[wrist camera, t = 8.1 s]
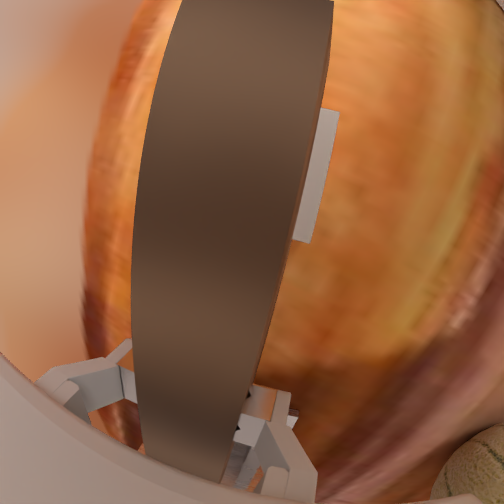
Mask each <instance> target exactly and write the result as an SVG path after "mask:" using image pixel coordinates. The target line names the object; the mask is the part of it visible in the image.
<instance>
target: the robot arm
mask: <svg viewBox="0 0 504 504" xmlns="http://www.w3.org/2000/svg"><path fill="white" fill-rule="evenodd" d="M496 1H497V2H498V4H499V5H500V6H501V7H502V9H503V10H504V0H496ZM124 398H126V399H128V400H130V401H132V402H135V403H137V396H136V387H135V376H134V365H133V350H132V339H131V338H127V339H125V340H124V341H123V342H122V343H121V344H120V345H119V346H118V347H117V348H116V349H114V350H113V351H112V352H111V353H110V354H109V355H108V356H107V357H106V358H103V357H100V358H96V359H91V360H86V361H81V362H76V363H72V364H66V365H61V366H56V367H52V368H51V369H50V370H49V371H48V372H46V373H45V374H44V375H43V376H42V377H40V378H39V379H38V380H37V381H36V382H34V383H33V382H32V381H31V380H30V379H28V378H27V377H26V376H25V375H24V374H23V373H22V372H20V371H19V370H18V369H17V368H16V367H15V366H14V365H13V364H12V363H11V362H10V361H9V360H8V359H7V358H6V357H5V356H4V355H3V354H2V353H1V352H0V504H322V503H314V502H315V494H316V485H317V476H318V473H317V471H316V469H315V468H314V466H313V465H312V463H311V461H310V460H309V458H308V456H307V455H306V453H305V451H304V450H303V448H302V446H301V444H300V443H299V441H298V439H297V438H296V436H295V434H294V432H293V431H292V429H291V427H290V426H287V425H286V423H287V417H288V411H289V406H290V400H291V393H290V392H286V391H281V390H277V389H273V388H269V387H265V386H261V385H257V384H254V383H251V386H250V388H249V391H248V395H247V398H246V400H245V403H244V405H243V408H242V411H241V414H240V417H239V420H238V424H237V428H236V430H235V434H234V437H233V440H232V441H235V442H239V443H242V444H245V445H249V446H252V447H254V449H255V452H256V454H257V457H258V460H259V463H260V465H261V468H262V471H263V473H264V475H263V476H262V478H261V480H260V481H259V483H258V484H257V486H256V487H255V489H254V490H253V492H248V491H244V490H240V489H236V488H233V487H229V486H226V485H222V484H219V483H216V482H212V481H209V480H206V479H203V478H200V477H197V476H195V475H192V474H189V473H186V472H184V471H181V470H179V469H176V468H174V467H171V466H169V465H167V464H164V463H162V462H160V461H157V460H155V459H153V458H151V457H149V456H146V455H144V454H142V453H140V452H138V451H136V450H134V449H132V448H130V447H128V446H126V445H125V444H123V443H121V442H119V441H117V440H115V439H114V438H112V437H110V436H108V435H107V434H105V433H103V432H101V431H100V430H98V429H97V428H95V427H93V426H92V425H91V421H90V418H89V416H88V412H91V411H94V410H96V409H99V408H102V407H104V406H107V405H109V404H112V403H114V402H116V401H119V400H121V399H124ZM403 504H483V503H482V502H481V501H480V500H479V499H478V498H477V497H476V496H474V495H473V494H470V493H466V494H460V495H456V496H451V497H446V498H441V499H435V500H428V501H421V502H413V503H403Z"/></svg>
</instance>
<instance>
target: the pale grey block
mask: <svg viewBox="0 0 504 504" xmlns="http://www.w3.org/2000/svg"><path fill="white" fill-rule="evenodd" d="M339 114H340V112H338V111H334V110H329V109H325V108H321V109H320V114H319V119H318V124H317V129H316V134H315V139H314V144H313V149H312V153H311V158H310V163H309V167H308V172H307V177H306V181H305V186H304V190H303V194H302V199H301V203H300V207H299V212H298V216H297V220H296V224H295V229H294V233H293V237H292V239H293V240H297V241H301V242H305V243H309V244H310V242H311V238H312V234H313V230H314V226H315V222H316V218H317V214H318V210H319V206H320V202H321V198H322V193H323V189H324V185H325V181H326V176H327V172H328V167H329V163H330V158H331V153H332V149H333V144H334V139H335V134H336V129H337V124H338V119H339Z"/></svg>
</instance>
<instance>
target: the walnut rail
mask: <svg viewBox="0 0 504 504" xmlns="http://www.w3.org/2000/svg"><path fill="white" fill-rule="evenodd" d="M333 8H334V1H330V0H182V2H181V5H180V8H179V11H178V13H177V16H176V19H175V22H174V25H173V28H172V31H171V34H170V37H169V40H168V43H167V47H166V50H165V53H164V57H163V60H162V64H161V67H160V71H159V75H158V79H157V83H156V87H155V91H154V95H153V100H152V104H151V109H150V114H149V118H148V123H147V129H146V134H145V140H144V145H143V152H142V158H141V165H140V172H139V179H138V187H137V196H136V205H135V216H134V228H133V243H132V265H131V329H132V350H133V365H134V376H135V387H136V396H137V404H138V412H139V419H140V426H141V432H142V438H143V444H144V449H145V454H146V456H149V457H151V458H153V459H155V460H157V461H160V462H162V463H164V464H167V465H169V466H171V467H174V468H176V469H179V470H181V471H184V472H186V473H189V474H192V475H195V476H197V477H200V478H203V479H206V480H209V481H212V482H216V483H219V484H220V483H221V481H222V478H223V475H224V473H225V470H226V467H227V464H228V461H229V458H230V455H231V452H232V449H233V446H234V443H235V441H232V440H233V437H234V434H235V430H236V428H237V424H238V420H239V417H240V414H241V411H242V408H243V405H244V403H245V400H246V398H247V395H248V391H249V388H250V386H251V383H253V382H254V378H255V375H256V371H257V368H258V365H259V361H260V358H261V354H262V351H263V347H264V344H265V340H266V337H267V333H268V329H269V326H270V322H271V318H272V315H273V311H274V307H275V304H276V300H277V296H278V292H279V288H280V285H281V281H282V277H283V273H284V269H285V265H286V261H287V257H288V253H289V249H290V245H291V241H292V237H293V233H294V229H295V224H296V220H297V216H298V212H299V207H300V203H301V199H302V194H303V190H304V186H305V181H306V177H307V172H308V167H309V163H310V158H311V153H312V149H313V144H314V139H315V134H316V129H317V124H318V119H319V114H320V109H321V104H322V99H323V93H324V88H325V83H326V77H327V71H328V66H329V58H330V47H331V35H332V23H333Z"/></svg>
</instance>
